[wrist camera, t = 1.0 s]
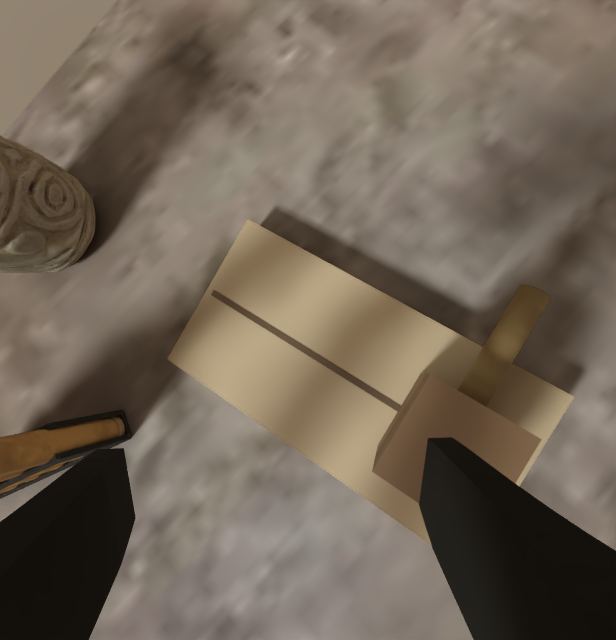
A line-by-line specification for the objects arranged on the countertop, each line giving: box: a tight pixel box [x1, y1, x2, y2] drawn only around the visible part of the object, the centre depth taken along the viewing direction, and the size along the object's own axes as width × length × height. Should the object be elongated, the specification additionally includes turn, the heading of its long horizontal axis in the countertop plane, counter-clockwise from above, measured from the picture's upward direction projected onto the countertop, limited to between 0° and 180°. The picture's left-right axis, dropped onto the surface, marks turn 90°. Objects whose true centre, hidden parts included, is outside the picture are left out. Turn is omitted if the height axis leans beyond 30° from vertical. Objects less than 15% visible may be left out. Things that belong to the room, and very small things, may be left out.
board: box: [167, 219, 574, 544], centre depth 20 cm, size 18×9×2 cm, turn 59°
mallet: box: [372, 285, 551, 503], centre depth 16 cm, size 4×9×5 cm, turn 149°
